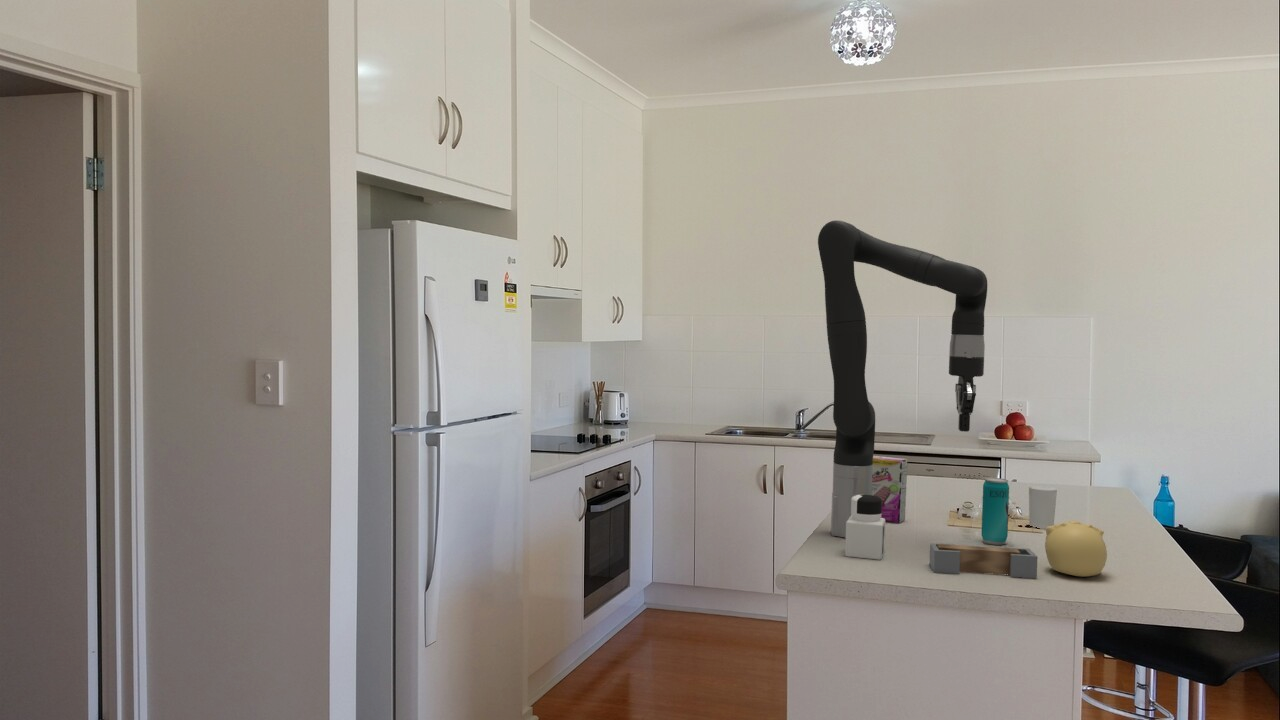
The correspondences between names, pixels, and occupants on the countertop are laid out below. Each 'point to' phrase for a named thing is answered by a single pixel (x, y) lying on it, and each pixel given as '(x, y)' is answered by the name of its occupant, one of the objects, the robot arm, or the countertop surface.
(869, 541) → the container
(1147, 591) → the countertop surface
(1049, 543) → the sculpture
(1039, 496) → the drinking glass
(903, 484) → the candy bar box
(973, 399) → the robot arm
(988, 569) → the brown wooden bar
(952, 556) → the endcap
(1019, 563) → the endcap
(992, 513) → the beverage can
